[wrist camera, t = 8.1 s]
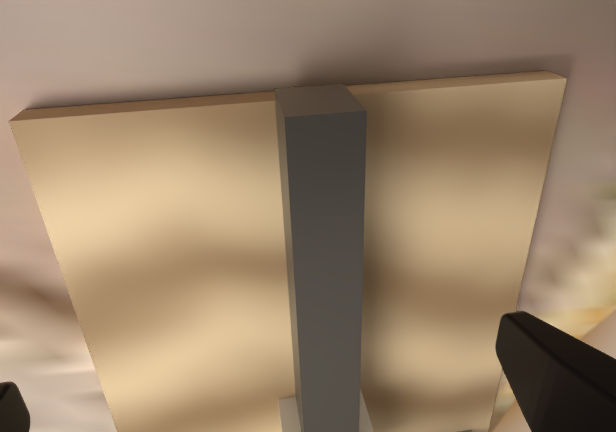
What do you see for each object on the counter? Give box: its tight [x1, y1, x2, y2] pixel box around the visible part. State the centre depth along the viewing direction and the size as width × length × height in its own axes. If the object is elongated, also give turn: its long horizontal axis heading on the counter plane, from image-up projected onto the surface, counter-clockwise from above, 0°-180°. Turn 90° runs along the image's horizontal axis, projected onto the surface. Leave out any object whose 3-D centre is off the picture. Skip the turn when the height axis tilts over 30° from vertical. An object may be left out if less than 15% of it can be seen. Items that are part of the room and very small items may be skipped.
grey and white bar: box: [274, 84, 374, 432], centre depth 18 cm, size 19×4×3 cm, turn 2°
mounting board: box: [9, 71, 567, 432], centre depth 23 cm, size 30×18×1 cm, turn 2°
